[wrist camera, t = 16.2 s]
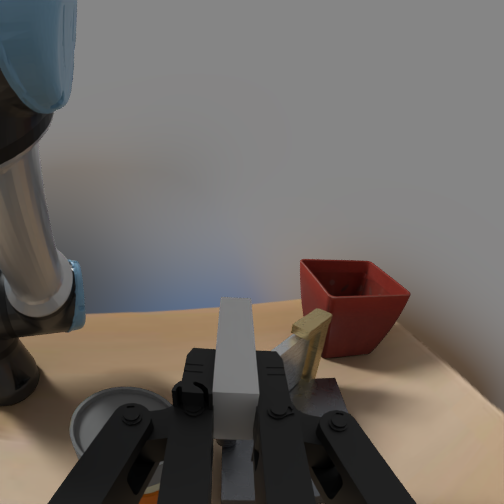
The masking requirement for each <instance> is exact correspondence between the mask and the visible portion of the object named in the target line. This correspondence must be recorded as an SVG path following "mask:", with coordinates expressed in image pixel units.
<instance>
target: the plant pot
mask: <svg viewBox="0 0 504 504" xmlns="http://www.w3.org/2000/svg"><path fill="white" fill-rule="evenodd" d="M300 282H301V283H300V284H301V299H302V308H303V316H306V315H307V314H309V313H310V312H312V311H313V310H315V309H316V308H318V309H322V310H324V311H326V312H329V313H331V314H332V319H331V323H330V324H329V326H328V331H327V335H326V339H325V343H324V347H323V351H322V354H321V357H323V358H332V357H343V356H352V355H361V354H369V353H371V352H372V351H373V350H374V349H375V348H376V347H377V345H378V344H379V343H380V342H381V341H382V340H383V338H384V337H385V336H386V335H387V333H388V332H389V331H390V329H391V328H392V326H393V325H394V324H395V322H396V320H397V319H398V317H399V316H400V314H401V312H402V310H403V309H404V307H405V305H406V303H407V301H408V299H409V297H410V292H409V291H407V290H406V289H405V288H404V287H403V286H401V285H400V284H399V283H398V282H396V281H395V280H394V279H393V278H391V277H390V276H389V275H387V274H386V273H385V272H384V271H382V270H381V269H380V268H378V267H377V266H376V265H375V264H373V263H372V262H369V261H354V260H319V259H317V260H315V259H302V260H300Z"/></svg>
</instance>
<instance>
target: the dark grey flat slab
mask: <svg viewBox="0 0 504 504" xmlns="http://www.w3.org/2000/svg"><path fill="white" fill-rule="evenodd" d="M289 394H290V399H291V402H292V404H293V405H294V406H295V407H296V409H298V410H299V411H301V412H302V413H305V414H308V415H312V416H318V417H322V416H323V414H324V413H326V412H329V411H333V410H339V411H344V412H346V413H348V411H347V409H346V406H345V403H344V400H343V398H342V395H341V392H340V390H339V387H338V385H337V382H336V379H335V378H322V379H312V380H311V381H310V382H307V381H305V380H303V379H301V380H300V381H299V382H298V383H297V384H296V385H295V386H294V387H293V388H292V389H291V390H290V391H289ZM253 445H254V442H253V439H252V440H236V443H235V444H234V445H233V446H231V447H222V485H221V504H255V489H254V471H253V461H251V457H252V451H253ZM311 480H312V479H311ZM312 485H313V491H314V496H315V501H316V504H318V503H324V501H323V500H322V498H321V496H320V494H319V492H318V490H317V488H316V486H315V485H314V483H313V481H312Z"/></svg>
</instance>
